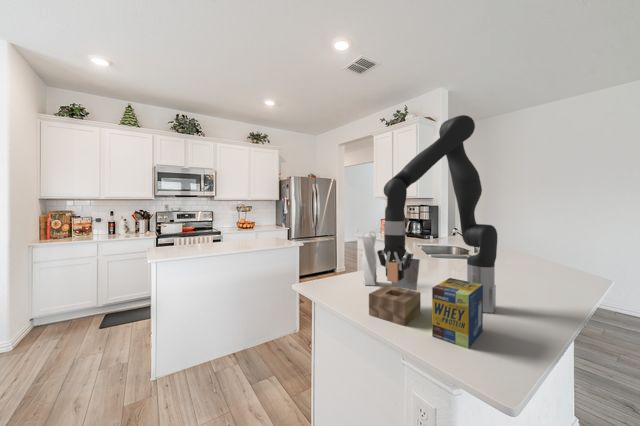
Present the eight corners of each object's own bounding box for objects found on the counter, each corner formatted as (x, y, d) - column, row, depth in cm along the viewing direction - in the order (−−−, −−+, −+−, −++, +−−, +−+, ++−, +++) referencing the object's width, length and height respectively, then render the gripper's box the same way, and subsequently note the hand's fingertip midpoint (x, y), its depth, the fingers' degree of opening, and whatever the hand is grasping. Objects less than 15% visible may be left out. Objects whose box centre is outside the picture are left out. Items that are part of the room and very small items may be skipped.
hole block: (420, 313, 99) (420, 292, 98) (404, 326, 88) (404, 302, 88) (386, 304, 108) (386, 285, 108) (368, 314, 98) (368, 293, 97)
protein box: (431, 336, 81) (431, 287, 81) (449, 321, 92) (449, 277, 91) (468, 349, 73) (468, 295, 73) (483, 331, 84) (483, 283, 84)
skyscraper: (379, 286, 132) (379, 231, 131) (363, 286, 132) (363, 231, 131) (376, 282, 140) (376, 230, 140) (361, 282, 140) (360, 230, 140)
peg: (397, 282, 95) (397, 263, 95) (387, 280, 97) (387, 262, 97) (402, 280, 98) (402, 261, 98) (392, 278, 100) (392, 260, 100)
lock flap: (391, 285, 107) (392, 285, 107) (415, 290, 100) (416, 290, 101) (395, 256, 109) (396, 256, 110) (418, 259, 102) (419, 259, 103)
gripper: (372, 232, 99) (372, 277, 100) (409, 235, 90) (409, 284, 90) (382, 231, 105) (382, 273, 105) (417, 233, 95) (417, 280, 96)
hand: (394, 278), depth 98 cm, fingers closed on peg, 4 cm apart
